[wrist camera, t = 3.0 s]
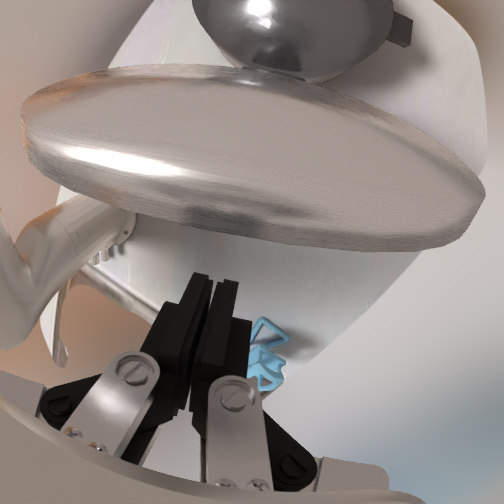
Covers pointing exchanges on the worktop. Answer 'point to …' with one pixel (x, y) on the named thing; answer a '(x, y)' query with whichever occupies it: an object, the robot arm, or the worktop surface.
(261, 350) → the light blue angular piece
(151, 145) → the lid
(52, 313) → the worktop surface
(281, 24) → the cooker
